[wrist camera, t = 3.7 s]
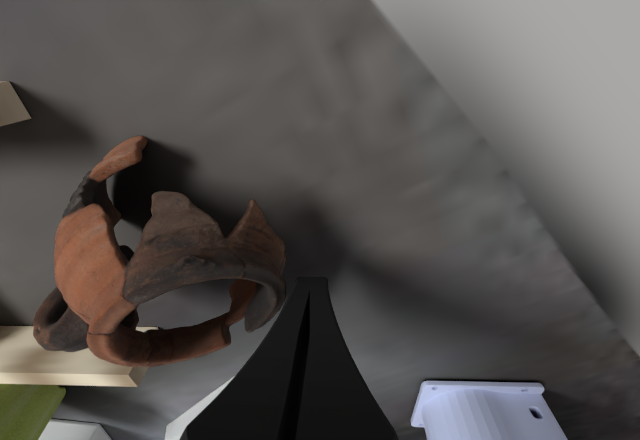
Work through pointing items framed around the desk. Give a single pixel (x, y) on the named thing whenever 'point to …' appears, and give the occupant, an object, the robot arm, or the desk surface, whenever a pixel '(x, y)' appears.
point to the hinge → (190, 415)
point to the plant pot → (27, 409)
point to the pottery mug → (152, 273)
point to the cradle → (18, 341)
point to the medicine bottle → (73, 431)
